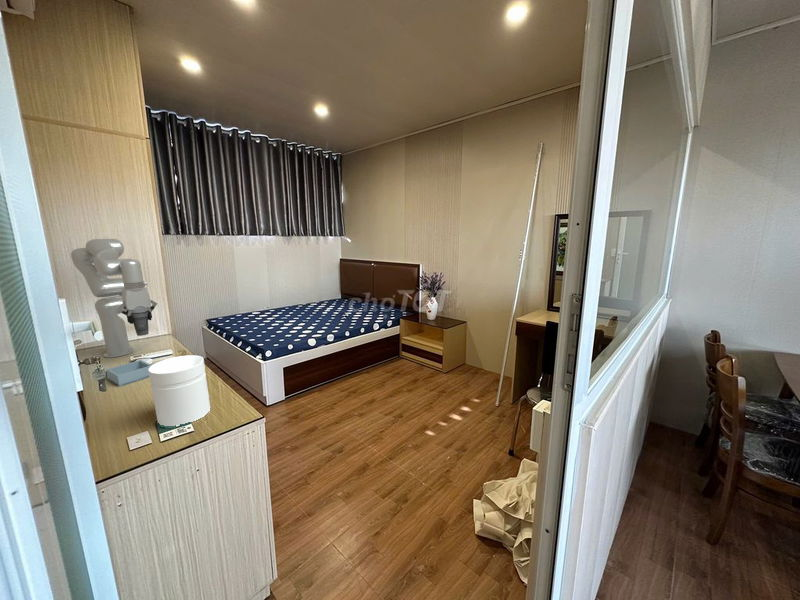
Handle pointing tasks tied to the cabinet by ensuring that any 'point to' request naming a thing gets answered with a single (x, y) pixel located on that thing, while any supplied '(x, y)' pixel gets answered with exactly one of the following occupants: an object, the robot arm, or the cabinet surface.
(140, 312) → the beverage cup
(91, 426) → the cabinet surface
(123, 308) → the robot arm
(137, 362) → the bin
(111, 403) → the cabinet surface
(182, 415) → the canister
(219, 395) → the cabinet surface
